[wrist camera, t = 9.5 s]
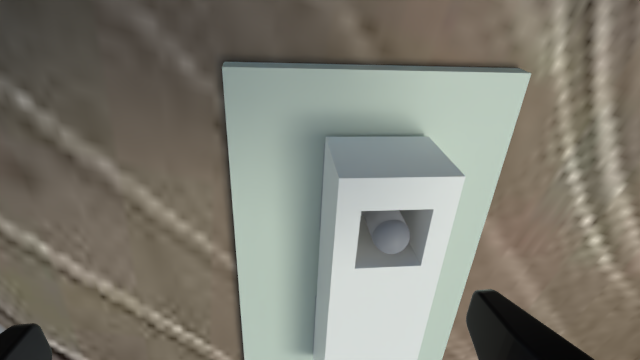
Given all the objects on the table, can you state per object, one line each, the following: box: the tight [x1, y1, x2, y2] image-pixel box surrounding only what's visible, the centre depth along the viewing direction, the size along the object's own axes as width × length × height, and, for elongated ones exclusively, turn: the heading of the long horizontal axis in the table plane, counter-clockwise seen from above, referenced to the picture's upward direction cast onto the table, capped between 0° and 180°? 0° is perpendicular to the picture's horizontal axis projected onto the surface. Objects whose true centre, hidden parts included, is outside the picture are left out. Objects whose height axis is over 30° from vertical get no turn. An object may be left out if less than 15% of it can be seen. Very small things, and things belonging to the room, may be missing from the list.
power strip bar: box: [313, 136, 466, 360], centre depth 20 cm, size 5×16×4 cm, turn 177°
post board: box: [222, 62, 531, 360], centre depth 21 cm, size 14×22×6 cm, turn 177°
